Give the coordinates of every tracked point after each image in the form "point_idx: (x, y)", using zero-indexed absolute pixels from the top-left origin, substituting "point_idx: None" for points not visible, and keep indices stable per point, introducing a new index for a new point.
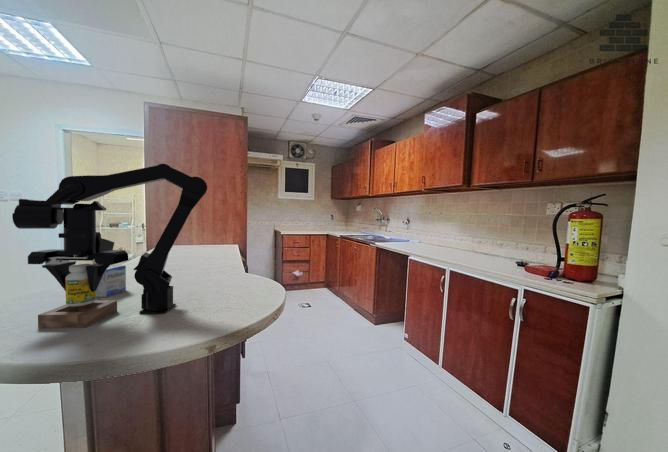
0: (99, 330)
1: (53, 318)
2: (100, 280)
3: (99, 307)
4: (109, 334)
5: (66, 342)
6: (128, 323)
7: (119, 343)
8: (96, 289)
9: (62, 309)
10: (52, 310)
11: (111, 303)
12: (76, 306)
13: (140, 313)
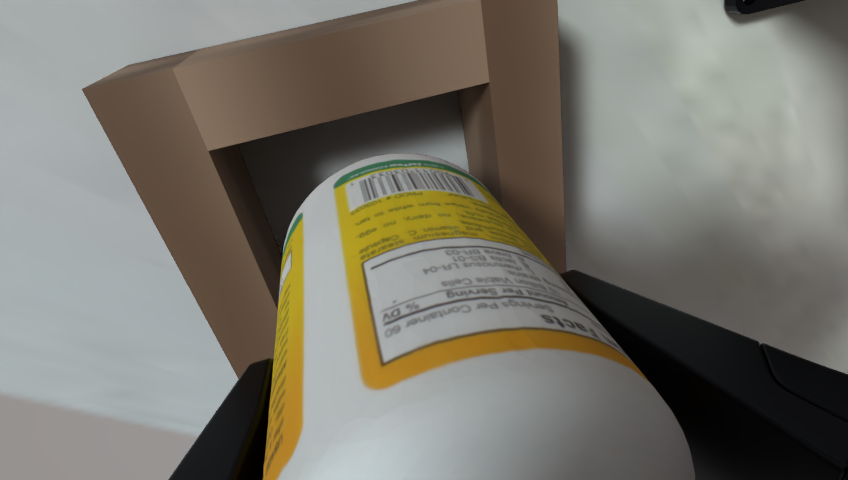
0: (628, 281)
1: None
2: (698, 318)
3: (548, 204)
4: (701, 297)
5: None
6: (725, 175)
7: (780, 337)
8: (581, 273)
9: (275, 299)
10: (247, 349)
11: (556, 74)
12: (220, 156)
13: (738, 13)
